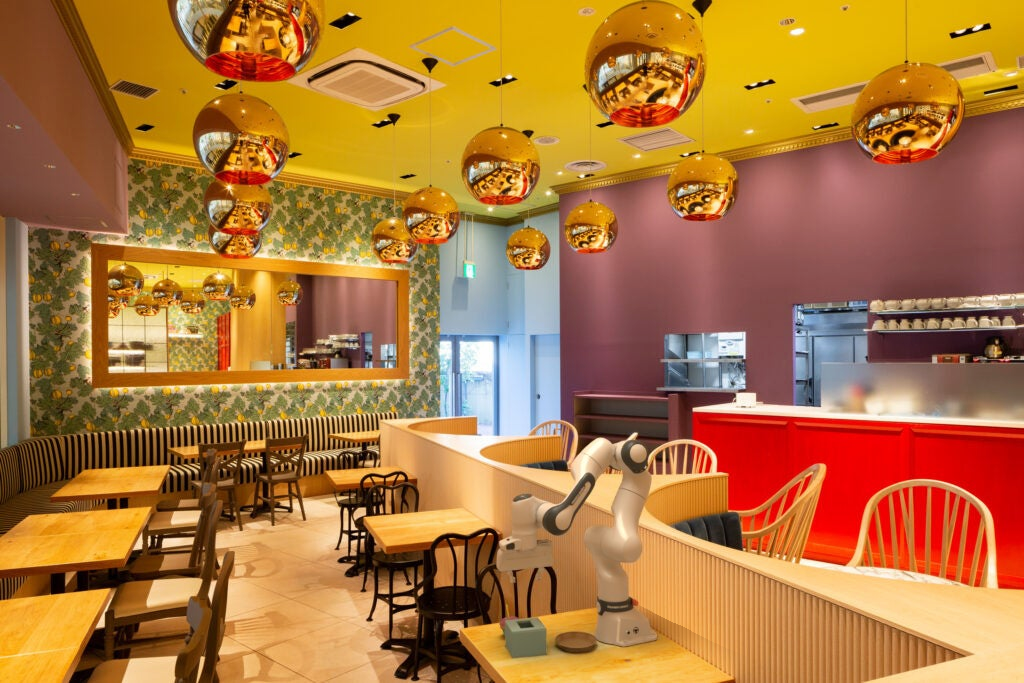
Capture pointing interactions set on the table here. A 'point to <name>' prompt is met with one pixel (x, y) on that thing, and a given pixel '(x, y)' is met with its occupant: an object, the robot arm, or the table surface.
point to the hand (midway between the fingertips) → (525, 581)
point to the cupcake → (502, 622)
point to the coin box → (525, 637)
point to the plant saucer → (575, 641)
